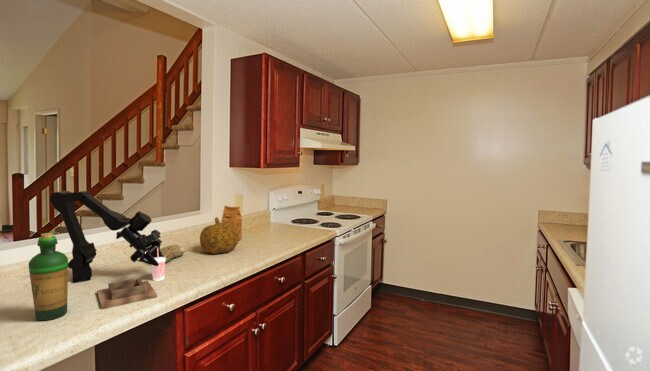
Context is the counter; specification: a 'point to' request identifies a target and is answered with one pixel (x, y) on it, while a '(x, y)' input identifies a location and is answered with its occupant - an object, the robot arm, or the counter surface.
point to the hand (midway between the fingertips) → (161, 263)
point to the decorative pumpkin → (219, 238)
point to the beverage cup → (159, 268)
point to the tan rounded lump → (172, 252)
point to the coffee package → (233, 218)
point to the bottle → (49, 279)
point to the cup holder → (125, 293)
